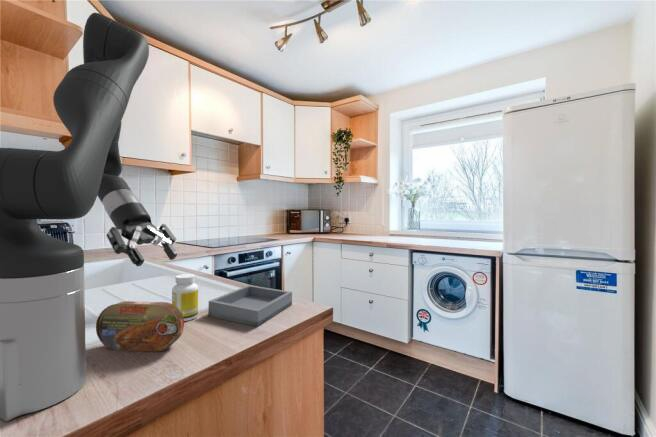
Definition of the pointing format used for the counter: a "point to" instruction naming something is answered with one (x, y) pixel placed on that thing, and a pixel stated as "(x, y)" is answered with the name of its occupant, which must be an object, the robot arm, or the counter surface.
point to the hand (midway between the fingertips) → (158, 260)
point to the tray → (250, 305)
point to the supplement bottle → (186, 296)
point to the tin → (139, 326)
